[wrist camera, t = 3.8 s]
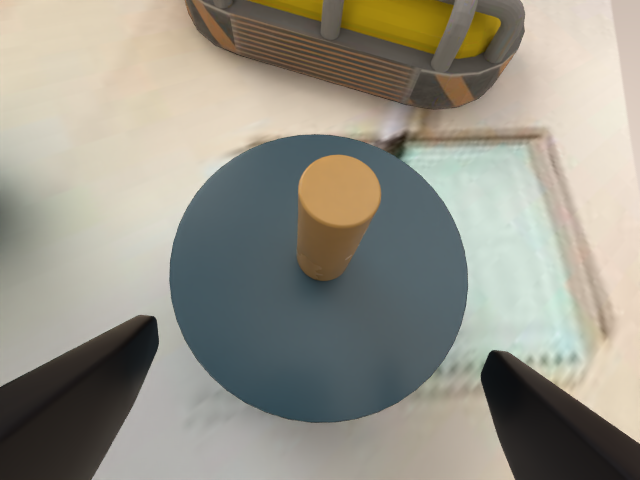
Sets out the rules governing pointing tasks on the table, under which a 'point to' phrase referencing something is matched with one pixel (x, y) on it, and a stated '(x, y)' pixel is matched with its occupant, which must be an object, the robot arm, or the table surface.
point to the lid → (318, 278)
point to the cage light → (375, 42)
